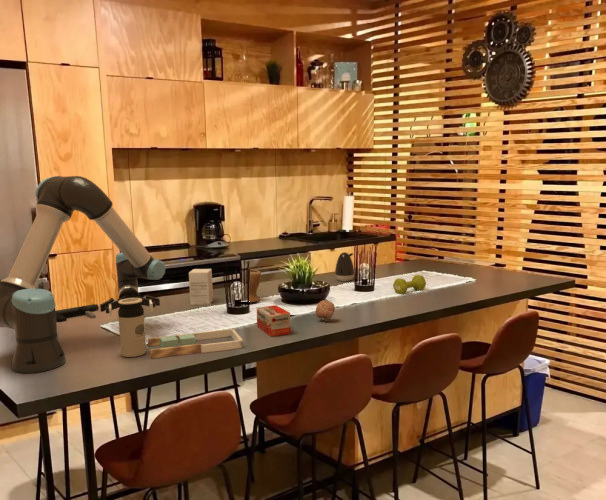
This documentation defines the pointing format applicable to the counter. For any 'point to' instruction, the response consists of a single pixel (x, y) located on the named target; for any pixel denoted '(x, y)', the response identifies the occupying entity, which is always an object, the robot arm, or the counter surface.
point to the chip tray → (222, 345)
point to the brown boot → (254, 285)
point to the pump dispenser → (344, 267)
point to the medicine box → (273, 320)
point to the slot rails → (172, 348)
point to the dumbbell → (409, 284)
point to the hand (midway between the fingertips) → (131, 310)
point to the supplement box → (200, 286)
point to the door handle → (76, 312)
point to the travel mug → (131, 327)
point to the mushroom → (325, 310)
